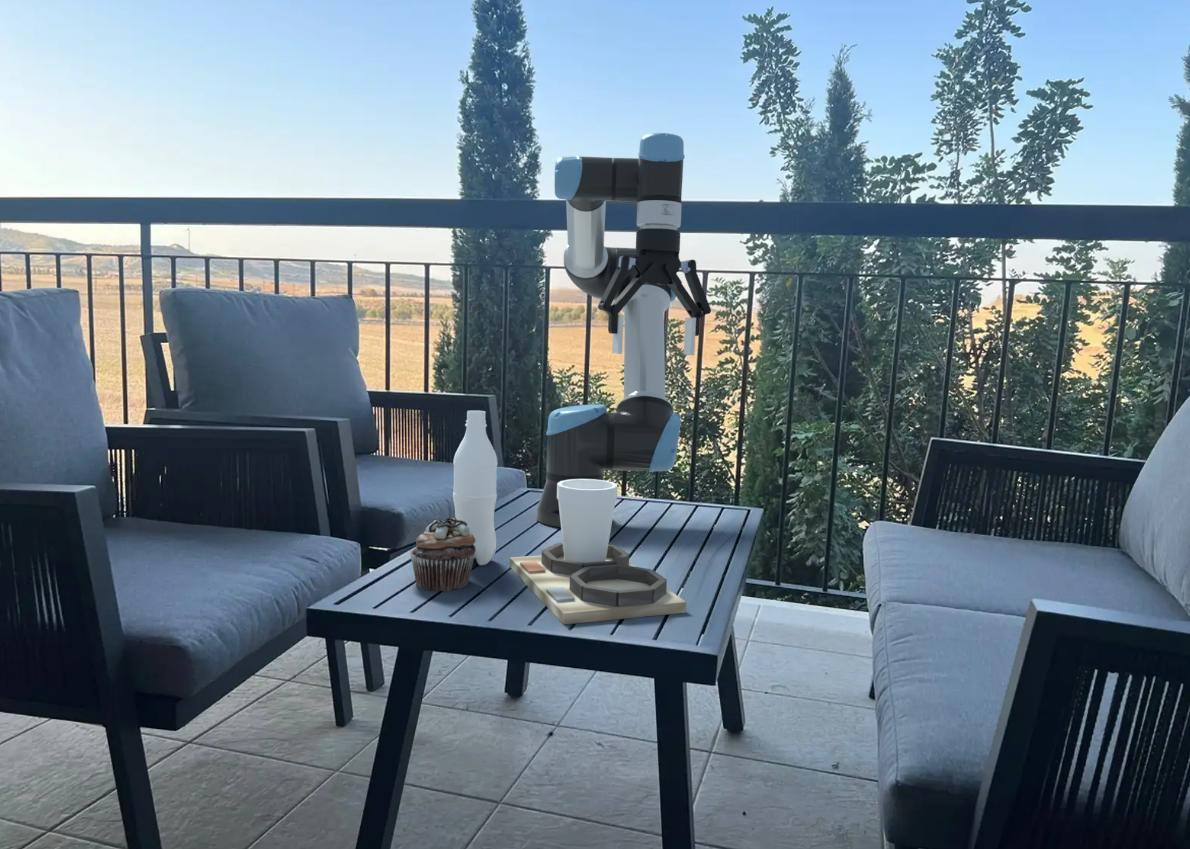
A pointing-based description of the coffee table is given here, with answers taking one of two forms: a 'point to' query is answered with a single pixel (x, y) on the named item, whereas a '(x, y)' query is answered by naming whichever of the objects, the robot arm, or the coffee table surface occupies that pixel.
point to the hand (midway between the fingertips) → (653, 354)
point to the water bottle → (476, 485)
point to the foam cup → (586, 518)
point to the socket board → (596, 586)
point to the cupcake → (444, 555)
